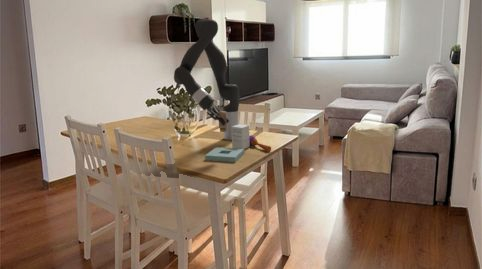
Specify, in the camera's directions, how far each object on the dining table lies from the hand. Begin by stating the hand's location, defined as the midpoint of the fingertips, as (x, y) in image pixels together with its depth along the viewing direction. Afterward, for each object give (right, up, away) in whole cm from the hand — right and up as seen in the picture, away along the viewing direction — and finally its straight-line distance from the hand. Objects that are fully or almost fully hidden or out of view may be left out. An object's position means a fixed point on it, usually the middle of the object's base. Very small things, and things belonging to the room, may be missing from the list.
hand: (226, 123), depth 197 cm
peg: (-2, -4, +2) cm, 5 cm away
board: (-1, -17, +4) cm, 18 cm away
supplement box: (+7, -14, +21) cm, 26 cm away
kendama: (+17, -14, +20) cm, 30 cm away
